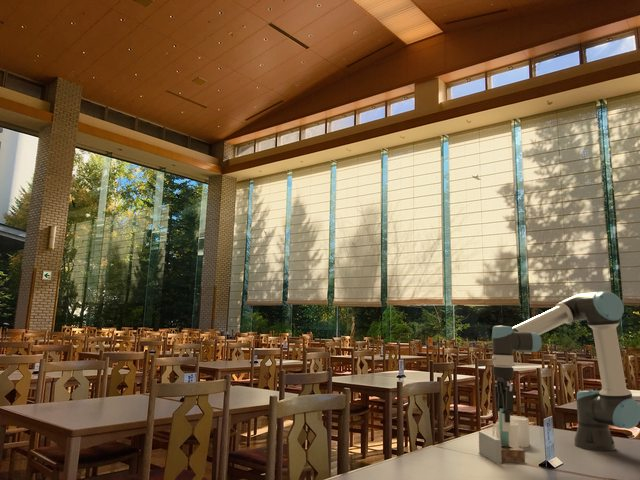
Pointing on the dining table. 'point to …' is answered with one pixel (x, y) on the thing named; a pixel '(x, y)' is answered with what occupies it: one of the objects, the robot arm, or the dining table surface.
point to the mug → (522, 430)
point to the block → (512, 453)
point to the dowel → (503, 432)
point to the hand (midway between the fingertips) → (504, 430)
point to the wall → (490, 447)
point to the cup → (512, 435)
